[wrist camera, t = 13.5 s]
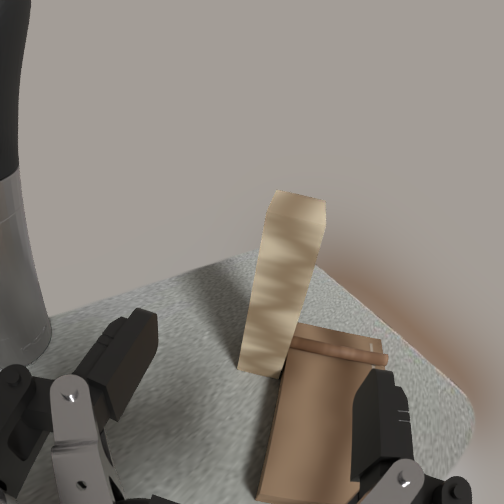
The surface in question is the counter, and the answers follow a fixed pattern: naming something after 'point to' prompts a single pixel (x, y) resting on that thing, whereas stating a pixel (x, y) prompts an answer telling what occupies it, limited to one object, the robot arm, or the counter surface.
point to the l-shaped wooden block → (287, 288)
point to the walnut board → (314, 423)
